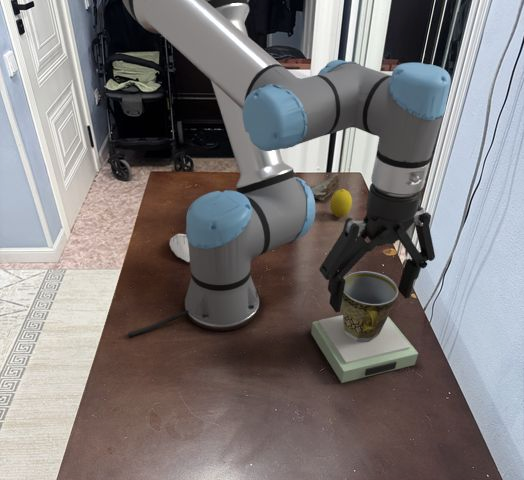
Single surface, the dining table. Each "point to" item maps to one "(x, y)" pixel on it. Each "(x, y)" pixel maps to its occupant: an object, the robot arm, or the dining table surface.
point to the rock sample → (325, 187)
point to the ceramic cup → (367, 304)
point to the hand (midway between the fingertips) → (369, 300)
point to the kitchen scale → (362, 350)
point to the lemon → (341, 203)
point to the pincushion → (180, 246)
